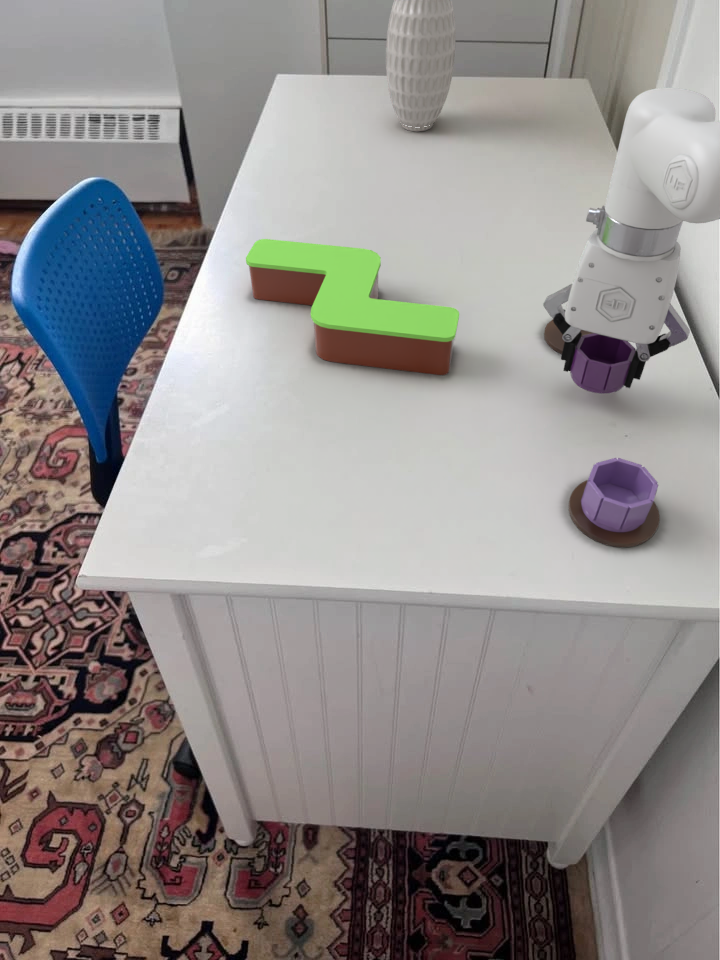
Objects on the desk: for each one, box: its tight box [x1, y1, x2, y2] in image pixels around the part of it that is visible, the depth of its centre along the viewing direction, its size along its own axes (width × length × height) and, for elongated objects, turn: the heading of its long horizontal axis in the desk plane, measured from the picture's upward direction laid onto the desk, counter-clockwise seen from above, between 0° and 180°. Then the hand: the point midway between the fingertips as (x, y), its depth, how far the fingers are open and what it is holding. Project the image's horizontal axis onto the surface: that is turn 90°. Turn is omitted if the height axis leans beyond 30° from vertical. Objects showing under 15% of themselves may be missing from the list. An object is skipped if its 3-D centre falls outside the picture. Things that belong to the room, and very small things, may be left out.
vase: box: [385, 0, 457, 132], centre depth 132 cm, size 13×13×28 cm
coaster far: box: [543, 319, 592, 355], centre depth 94 cm, size 9×9×1 cm
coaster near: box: [568, 479, 660, 548], centre depth 74 cm, size 9×9×1 cm
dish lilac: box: [581, 457, 659, 532], centre depth 72 cm, size 6×6×4 cm
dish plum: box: [569, 333, 637, 395], centre depth 83 cm, size 6×6×4 cm
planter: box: [245, 238, 460, 376], centre depth 95 cm, size 30×18×6 cm, turn 78°
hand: (599, 371), depth 84 cm, fingers closed on dish plum, 6 cm apart
